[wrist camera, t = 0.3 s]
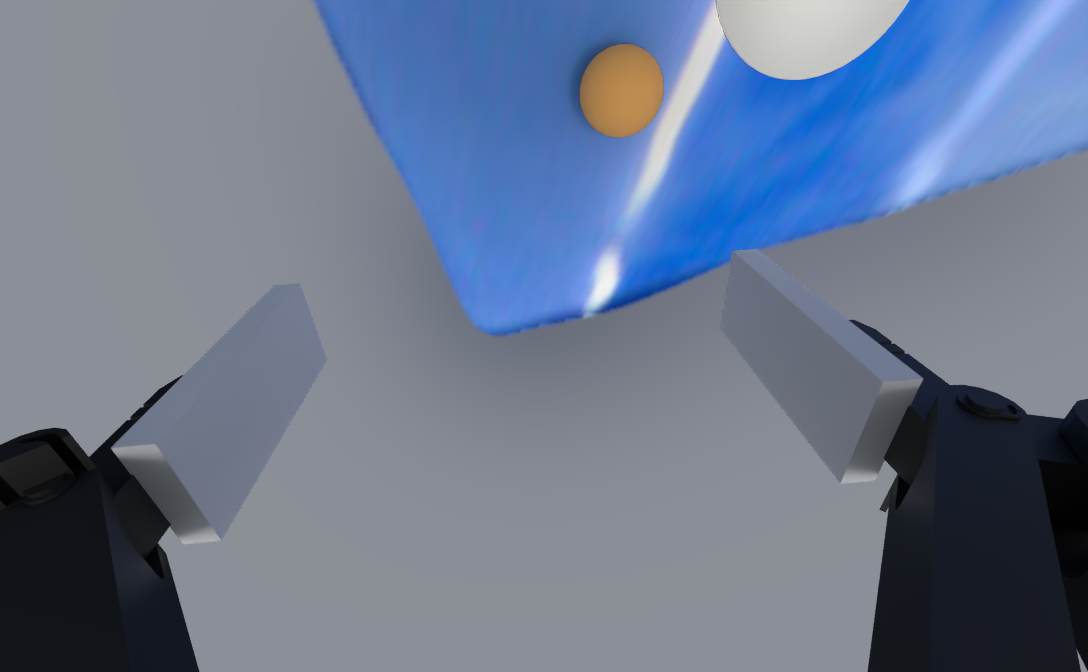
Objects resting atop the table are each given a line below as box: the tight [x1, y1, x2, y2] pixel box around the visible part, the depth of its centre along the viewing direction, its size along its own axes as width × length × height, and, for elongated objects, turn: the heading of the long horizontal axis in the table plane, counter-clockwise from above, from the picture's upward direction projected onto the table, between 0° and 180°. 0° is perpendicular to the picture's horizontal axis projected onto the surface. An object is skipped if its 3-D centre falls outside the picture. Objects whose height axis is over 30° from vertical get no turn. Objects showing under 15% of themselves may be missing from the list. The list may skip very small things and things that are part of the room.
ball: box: [580, 44, 664, 138], centre depth 31 cm, size 6×6×6 cm
